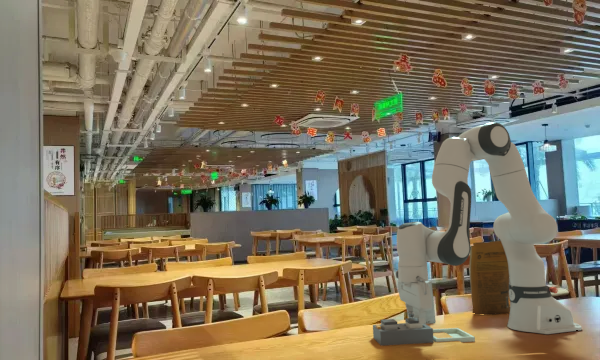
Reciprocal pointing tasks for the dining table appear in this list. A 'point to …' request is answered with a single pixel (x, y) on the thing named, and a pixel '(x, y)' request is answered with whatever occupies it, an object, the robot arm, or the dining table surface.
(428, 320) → the skincare box
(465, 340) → the tray
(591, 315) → the dining table surface
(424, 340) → the grey socket block
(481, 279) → the pancake mix bag
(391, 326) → the twin plug
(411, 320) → the plug
